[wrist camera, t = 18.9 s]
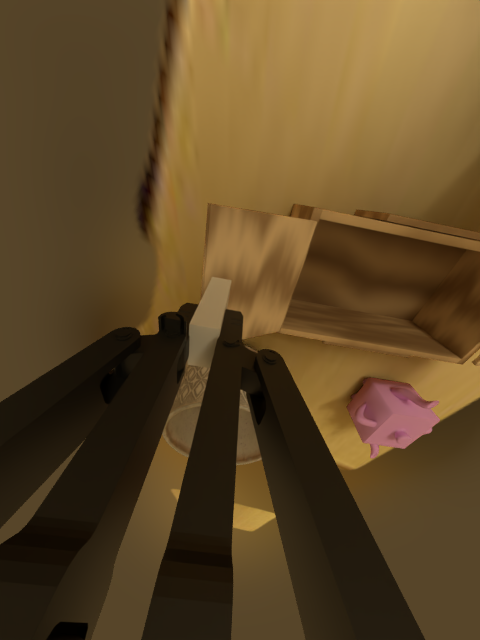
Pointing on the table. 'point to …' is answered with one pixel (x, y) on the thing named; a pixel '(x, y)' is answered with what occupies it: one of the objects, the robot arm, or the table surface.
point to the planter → (187, 412)
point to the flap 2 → (477, 361)
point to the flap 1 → (255, 262)
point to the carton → (388, 286)
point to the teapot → (390, 414)
